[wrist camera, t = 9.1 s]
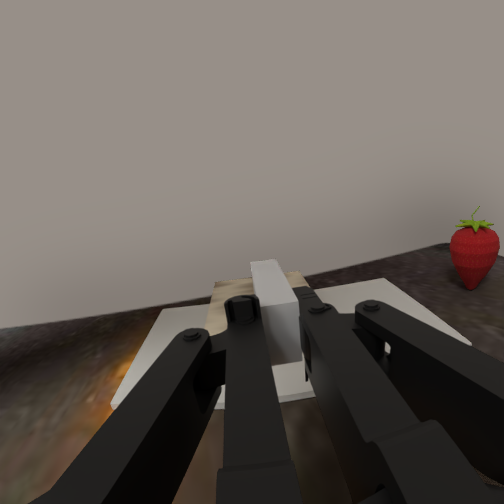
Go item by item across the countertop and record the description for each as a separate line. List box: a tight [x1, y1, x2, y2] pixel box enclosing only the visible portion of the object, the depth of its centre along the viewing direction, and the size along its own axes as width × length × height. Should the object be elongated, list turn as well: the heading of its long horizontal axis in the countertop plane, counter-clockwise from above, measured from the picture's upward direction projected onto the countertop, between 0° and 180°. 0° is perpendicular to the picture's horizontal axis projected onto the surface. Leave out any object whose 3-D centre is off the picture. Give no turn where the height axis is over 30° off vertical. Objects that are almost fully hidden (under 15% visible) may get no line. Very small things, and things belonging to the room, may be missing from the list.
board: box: [204, 271, 310, 336], centre depth 29 cm, size 10×2×13 cm
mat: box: [110, 278, 472, 410], centre depth 27 cm, size 28×18×1 cm, turn 92°
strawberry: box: [450, 206, 500, 290], centre depth 27 cm, size 6×8×10 cm
